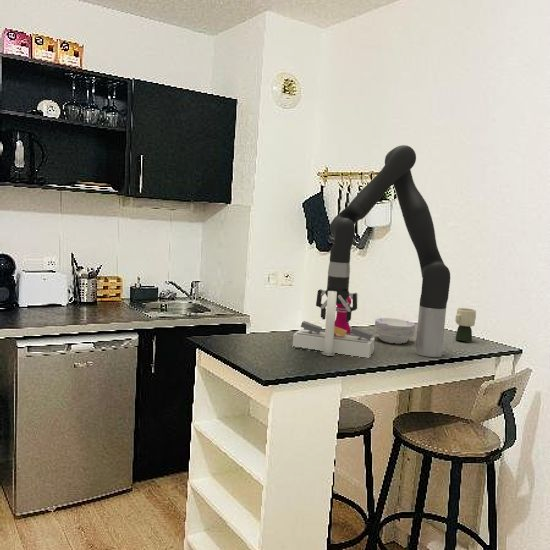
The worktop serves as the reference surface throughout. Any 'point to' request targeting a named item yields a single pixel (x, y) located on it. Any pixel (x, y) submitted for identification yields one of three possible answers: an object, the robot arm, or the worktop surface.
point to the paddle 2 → (361, 333)
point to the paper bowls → (394, 330)
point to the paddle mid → (339, 331)
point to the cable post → (330, 323)
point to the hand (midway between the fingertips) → (335, 320)
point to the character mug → (465, 323)
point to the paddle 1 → (311, 327)
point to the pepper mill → (342, 317)
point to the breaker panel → (335, 343)
